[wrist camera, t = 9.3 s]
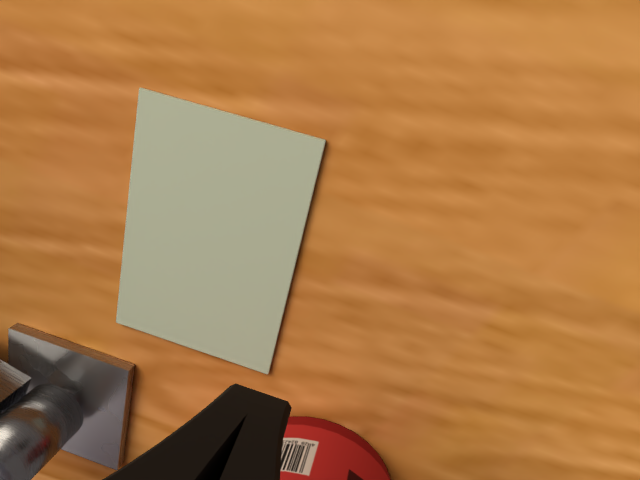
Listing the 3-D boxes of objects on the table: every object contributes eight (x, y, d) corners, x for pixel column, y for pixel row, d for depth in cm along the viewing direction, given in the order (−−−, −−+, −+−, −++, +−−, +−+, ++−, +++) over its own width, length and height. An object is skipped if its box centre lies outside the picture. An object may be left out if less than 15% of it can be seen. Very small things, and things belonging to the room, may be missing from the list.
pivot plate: (123, 462, 24) (112, 476, 23) (16, 422, 25) (1, 434, 24) (135, 364, 22) (123, 376, 21) (17, 323, 23) (1, 332, 22)
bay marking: (269, 371, 21) (267, 374, 20) (118, 320, 21) (116, 322, 21) (326, 140, 17) (325, 140, 17) (142, 87, 18) (139, 87, 18)
